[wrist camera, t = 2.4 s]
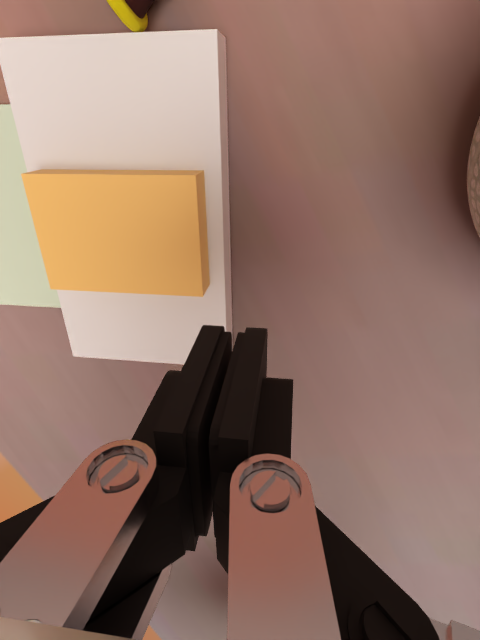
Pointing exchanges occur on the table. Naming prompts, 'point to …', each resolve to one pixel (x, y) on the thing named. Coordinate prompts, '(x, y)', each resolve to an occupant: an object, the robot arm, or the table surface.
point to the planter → (474, 178)
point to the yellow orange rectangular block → (121, 230)
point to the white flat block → (131, 161)
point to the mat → (18, 228)
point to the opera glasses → (132, 12)
